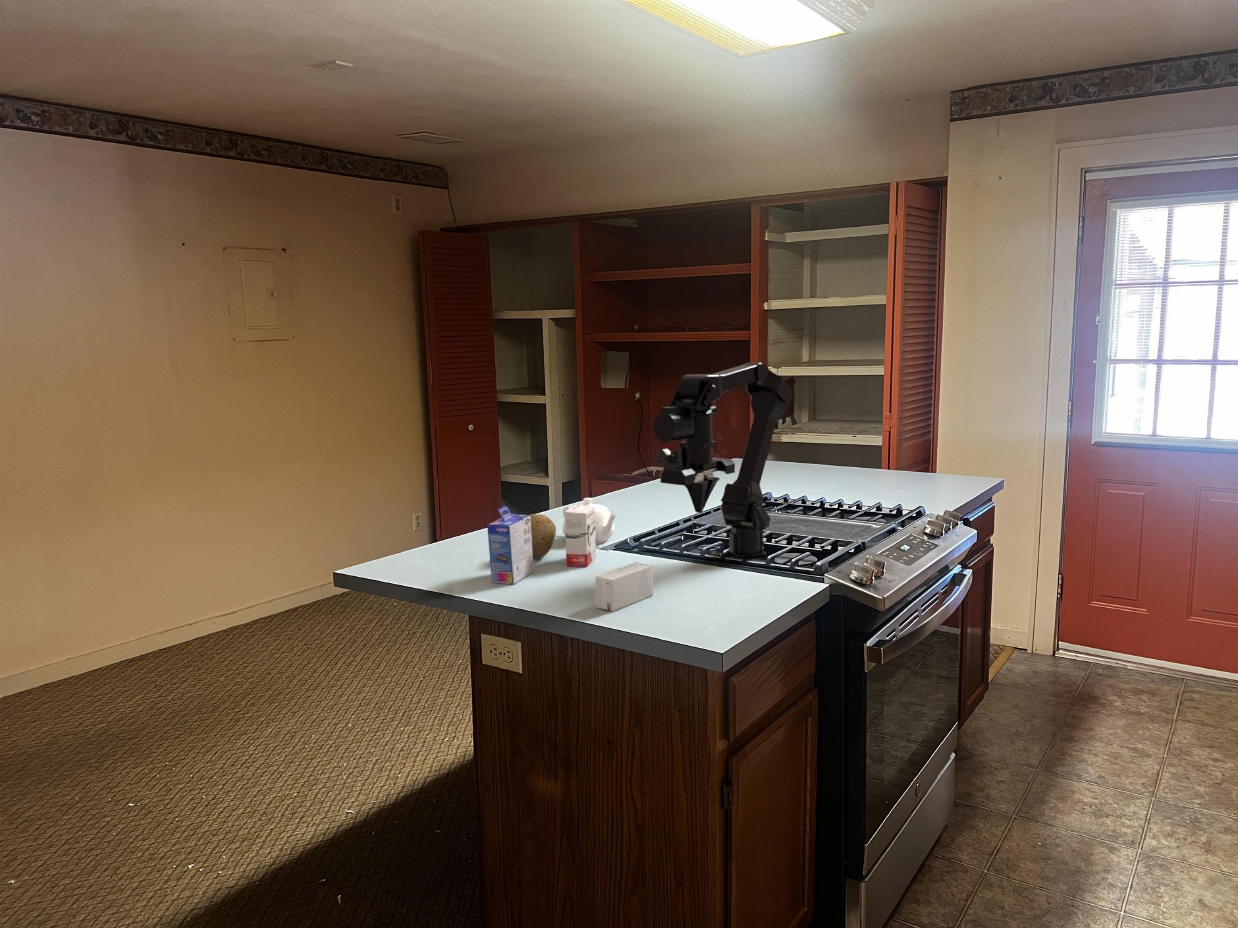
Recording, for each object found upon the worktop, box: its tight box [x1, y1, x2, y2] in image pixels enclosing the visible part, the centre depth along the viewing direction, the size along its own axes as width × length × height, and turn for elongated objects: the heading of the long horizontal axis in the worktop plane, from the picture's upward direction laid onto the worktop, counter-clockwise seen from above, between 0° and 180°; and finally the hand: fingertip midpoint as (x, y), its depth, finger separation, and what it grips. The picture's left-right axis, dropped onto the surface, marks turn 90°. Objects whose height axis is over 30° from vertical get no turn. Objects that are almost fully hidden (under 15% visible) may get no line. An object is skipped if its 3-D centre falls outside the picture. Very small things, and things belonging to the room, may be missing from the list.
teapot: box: [562, 497, 618, 545], centre depth 207 cm, size 20×12×10 cm, turn 40°
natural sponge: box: [529, 513, 557, 559], centre depth 192 cm, size 9×9×10 cm
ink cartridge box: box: [486, 506, 535, 585], centre depth 177 cm, size 10×6×14 cm, turn 161°
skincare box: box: [595, 561, 654, 612], centre depth 161 cm, size 6×4×12 cm
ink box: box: [564, 504, 597, 567], centre depth 188 cm, size 9×5×12 cm, turn 168°
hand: (698, 512), depth 179 cm, fingers closed
